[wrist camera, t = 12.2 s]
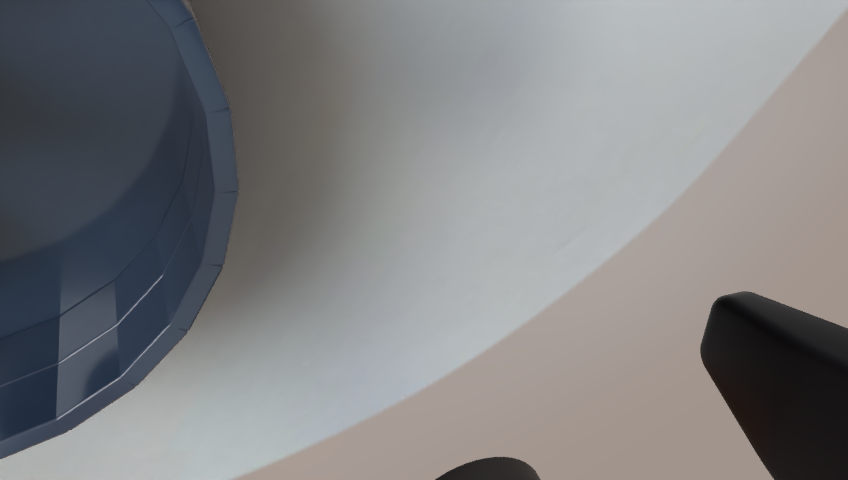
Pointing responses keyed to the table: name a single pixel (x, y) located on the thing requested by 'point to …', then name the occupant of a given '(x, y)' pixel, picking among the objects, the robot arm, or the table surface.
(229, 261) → the table surface
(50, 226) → the bowl
